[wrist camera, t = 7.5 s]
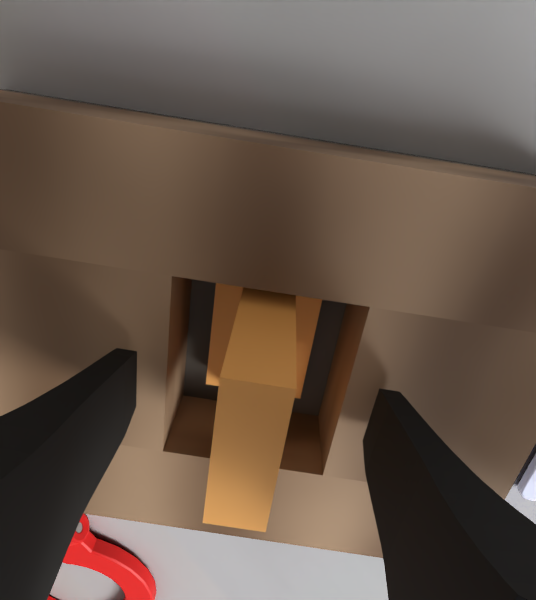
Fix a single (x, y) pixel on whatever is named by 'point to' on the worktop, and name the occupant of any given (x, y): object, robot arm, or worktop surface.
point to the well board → (270, 277)
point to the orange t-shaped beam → (253, 397)
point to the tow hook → (110, 563)
